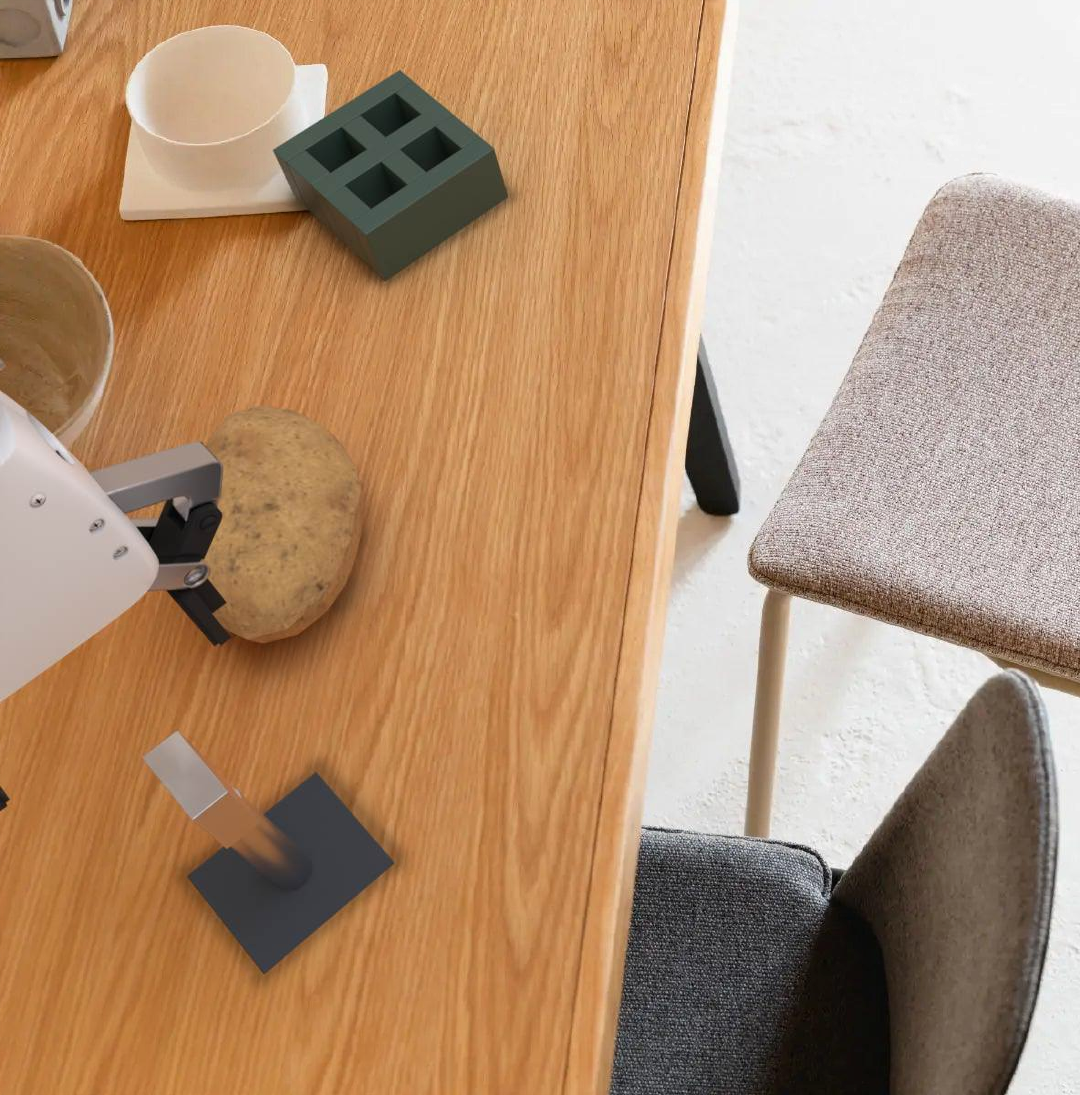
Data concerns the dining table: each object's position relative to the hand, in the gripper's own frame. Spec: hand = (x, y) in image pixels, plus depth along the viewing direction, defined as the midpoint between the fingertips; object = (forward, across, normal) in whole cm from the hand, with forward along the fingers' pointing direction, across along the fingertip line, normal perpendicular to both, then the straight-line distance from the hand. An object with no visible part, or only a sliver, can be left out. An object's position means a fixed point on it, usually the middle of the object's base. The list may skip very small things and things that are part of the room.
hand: (97, 698), depth 56 cm
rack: (+22, -32, -32) cm, 50 cm away
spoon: (+21, 0, +1) cm, 21 cm away
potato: (+22, -11, -14) cm, 29 cm away
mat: (+22, 0, +1) cm, 22 cm away
